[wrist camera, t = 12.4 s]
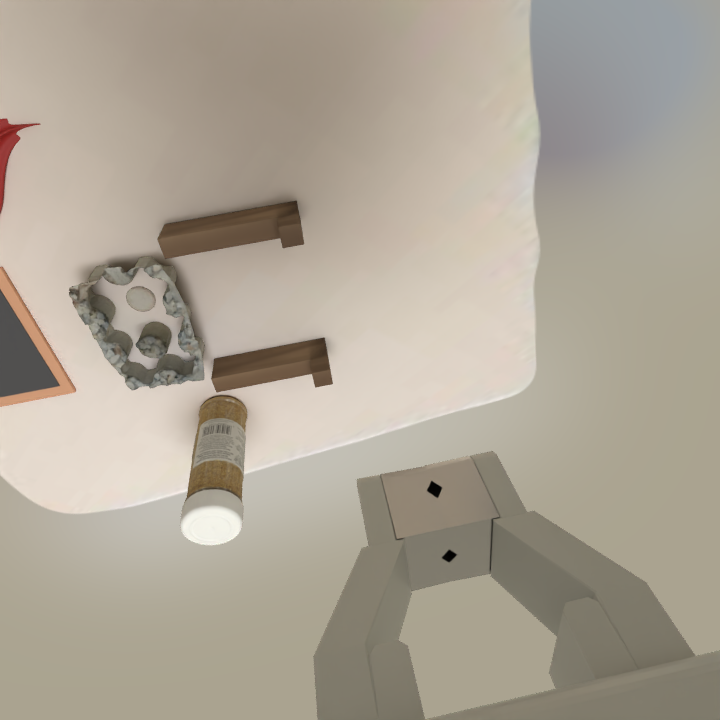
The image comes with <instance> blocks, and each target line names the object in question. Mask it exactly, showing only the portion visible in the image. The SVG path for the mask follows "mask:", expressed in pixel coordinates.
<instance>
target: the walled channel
mask: <svg viewBox="0 0 720 720" xmlns="http://www.w3.org/2000/svg"><path fill="white" fill-rule="evenodd" d="M278 238H281V243H282V247H283V248H286V247H292V246H297V245H303V244H304V240H303V234H302V227H301V221H300V216H299V211H298V206H297V201H294V202H289V203H283V204H277V205H272V206H266V207H260V208H255V209H249V210H244V211H238V212H232V213H227V214H221V215H215V216H210V217H204V218H198V219H193V220H187V221H181V222H176V223H170V224H165V225H164V227H163V229H162V231H161V233H160V235H159V237H158V242H159V245H160V247H161V250H162V252H163V255H164V257H165V259H167V258H173V257H178V256H184V255H189V254H195V253H200V252H206V251H211V250H217V249H222V248H228V247H233V246H239V245H245V244H250V243H256V242H261V241H267V240H272V239H278ZM308 374H312V376H313V380H314V384H315V387H320V386H325V385H330V384H333V382H332V377H331V371H330V365H329V359H328V354H327V349H326V344H325V339H324V338H321V339H316V340H310V341H305V342H300V343H295V344H290V345H284V346H279V347H274V348H269V349H264V350H258V351H253V352H248V353H243V354H237V355H232V356H227V357H222V358H217V359H214V365H213V371H212V378H211V379H212V382H213V384H214V387H215V390H216V392H221V391H226V390H231V389H236V388H242V387H247V386H252V385H257V384H262V383H267V382H272V381H277V380H283V379H288V378H293V377H298V376H303V375H308Z"/></svg>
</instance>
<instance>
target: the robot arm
mask: <svg viewBox="0 0 720 720" xmlns="http://www.w3.org/2000/svg"><path fill="white" fill-rule="evenodd" d="M357 487H358V493H359V498H360V503H361V509H362V514H363V519H364V524H365V530H366V534H367V540H368V545H369V546H367V547H363V548H362V549H361V551H360V553H359V555H358V558H357V560H356V562H355V565H354V567H353V569H352V571H351V573H350V576H349V578H348V580H347V582H346V585H345V587H344V589H343V591H342V594H341V596H340V598H339V600H338V602H337V605H336V607H335V609H334V611H333V614H332V616H331V618H330V620H329V623H328V625H327V627H326V629H325V632H324V634H323V636H322V638H321V641H320V643H319V645H318V648H317V650H316V652H315V654H314V671H315V686H316V701H317V717H318V720H720V650H719V651H715V652H711V653H707V654H702V655H698V656H695V654H694V653H693V651H692V650H691V648H690V647H689V645H688V644H687V643H686V641H685V640H684V638H683V637H682V635H681V634H680V632H679V631H678V629H677V628H676V626H675V625H674V623H673V622H672V620H671V619H670V617H669V616H668V614H667V613H666V611H665V610H664V608H663V607H662V605H661V604H660V602H659V601H658V599H657V598H656V596H655V595H654V593H653V592H652V590H651V589H650V587H649V586H648V584H647V583H646V582H645V581H643V580H642V579H640V578H639V577H637V576H635V575H634V574H632V573H631V572H629V571H628V570H626V569H624V568H623V567H621V566H620V565H618V564H617V563H615V562H613V561H612V560H610V559H609V558H607V557H606V556H604V555H602V554H601V553H599V552H598V551H596V550H595V549H593V548H592V547H590V546H588V545H587V544H585V543H584V542H582V541H581V540H579V539H577V538H576V537H574V536H573V535H571V534H570V533H568V532H566V531H565V530H563V529H562V528H560V527H559V526H557V525H556V524H554V523H552V522H551V521H549V520H548V519H546V518H545V517H543V516H542V515H540V514H538V513H537V512H535V511H530V512H527V511H526V509H525V507H524V505H523V503H522V501H521V500H520V498H519V496H518V494H517V492H516V490H515V488H514V486H513V484H512V483H511V481H510V479H509V477H508V475H507V473H506V471H505V469H504V468H503V466H502V464H501V462H500V460H499V458H498V456H497V454H495V453H494V452H493V451H491V452H486V453H481V454H476V455H472V456H466V457H461V458H456V459H452V460H447V461H443V462H438V463H434V464H429V465H425V466H423V467H418V468H413V469H407V470H401V471H396V472H390V473H385V474H380V475H375V476H370V477H365V478H359V479H357ZM486 574H491V577H492V578H494V579H495V580H496V581H497V582H498V583H499V584H500V585H501V586H502V587H503V588H504V589H505V590H507V591H508V592H509V593H510V594H511V595H512V596H513V597H514V598H515V599H516V600H517V601H519V602H520V603H521V604H522V605H523V606H524V607H525V608H526V609H527V610H528V611H529V612H531V613H532V614H533V615H534V616H535V617H536V618H537V619H538V620H540V622H542V623H543V624H544V625H545V626H546V627H547V628H548V629H549V630H550V631H551V632H552V633H554V634H555V635H556V636H557V640H556V644H555V649H554V653H553V658H552V662H551V666H550V671H549V674H550V676H551V679H552V681H553V683H554V686H555V688H556V689H553V690H548V691H544V692H540V693H536V694H531V695H528V696H523V697H518V698H514V699H510V700H506V701H501V702H497V703H493V704H489V705H485V706H480V707H476V708H472V709H467V710H463V711H459V712H454V713H450V714H446V715H442V716H438V717H433V718H429V719H425V717H424V713H423V709H422V704H421V700H420V696H419V692H418V687H417V683H416V679H415V674H414V670H413V666H412V662H411V657H410V653H409V649H408V646H407V645H405V644H404V643H402V642H400V641H399V636H400V633H401V629H402V626H403V622H404V619H405V615H406V612H407V608H408V605H409V601H410V598H411V594H412V593H411V591H414V590H418V589H422V588H426V587H430V586H434V585H438V584H442V583H446V582H450V581H455V580H460V579H466V578H471V577H476V576H481V575H486Z"/></svg>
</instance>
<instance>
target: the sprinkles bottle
mask: <svg viewBox="0 0 720 720" xmlns="http://www.w3.org/2000/svg"><path fill="white" fill-rule="evenodd" d="M246 419H247V411H246V408H245V406H244V405H243V404H242V403H241V402H240V401H238V400H236V399H234V398H232V397H226V396H223V397H222V396H220V397H214V398H211V399H209V400H207V401H206V402H205V403H204V404H203V405H202V406H201V408H200V411H199V424H198V430H197V434H196V437H195V442H194V449H193V454H192V465H191V472H190V479H189V486H188V493H187V498H186V500H185V502H184V505H183V508H182V514H181V522H180V528H181V531H182V533H183V535H184V536H185V537H186V538H187V539H189V540H191V541H193V542H195V543H198V544H203V545H217V544H222V543H225V542H228V541H230V540H232V539H233V538H235V537H236V536H237V535H238V533H239V532H240V531H241V529H242V525H243V504H242V482H243V476H244V455H245V437H246V436H245V423H246Z"/></svg>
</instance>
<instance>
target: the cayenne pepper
mask: <svg viewBox="0 0 720 720" xmlns="http://www.w3.org/2000/svg"><path fill="white" fill-rule="evenodd" d="M33 125H39V124H21V125H11V124H9V123H8V120H7V119H0V212H1V209H2V205H3V198H4V181H5V171H6V166H7V161H8V158H9V155H10V153H11V150H12V149H13V147H14V146H15V144H16V143H17V142H18V141H19V140H20V137H19V136H18V135H16V133H17V132H18V131H19V130H21V129H23V128H25V127H29V126H33Z"/></svg>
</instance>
